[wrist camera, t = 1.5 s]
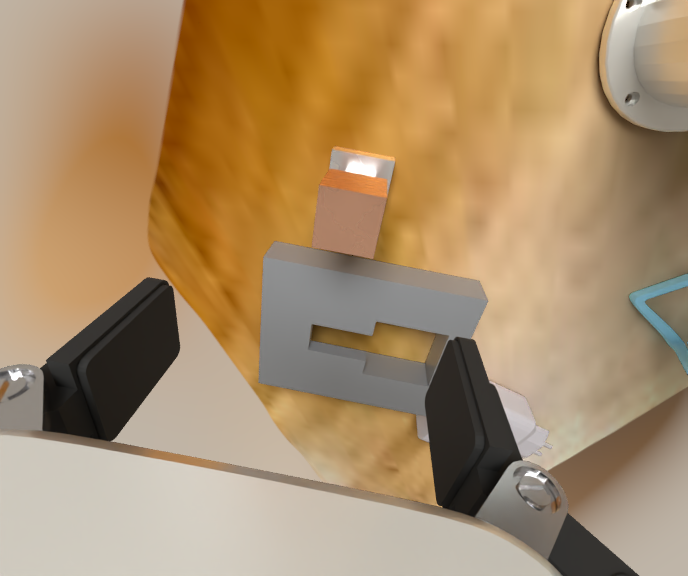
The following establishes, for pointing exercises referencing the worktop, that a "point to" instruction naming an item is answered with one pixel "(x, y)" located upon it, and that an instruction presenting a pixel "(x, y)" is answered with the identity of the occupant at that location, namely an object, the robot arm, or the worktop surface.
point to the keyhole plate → (357, 324)
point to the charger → (519, 420)
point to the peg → (352, 202)
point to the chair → (672, 339)
